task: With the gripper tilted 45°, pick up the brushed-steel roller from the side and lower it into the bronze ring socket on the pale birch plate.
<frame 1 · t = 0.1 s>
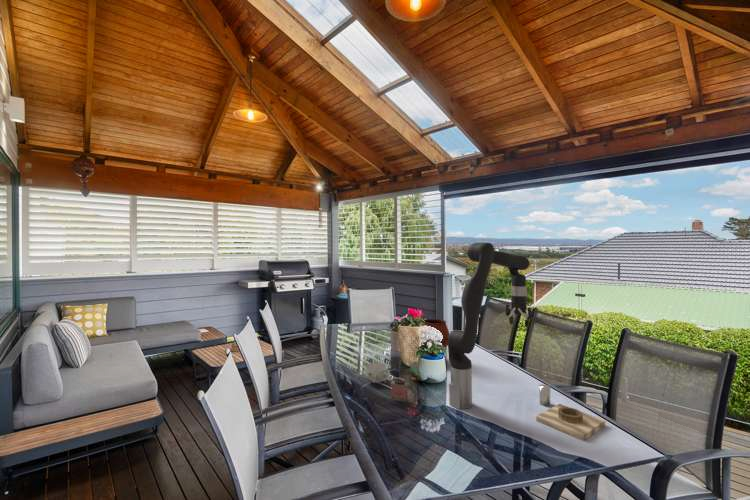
hand: (519, 325, 183), 29 cm above the table, tool pointing down, fingers open, 8 cm apart
roller: (544, 404, 157), on the table
lighter: (399, 399, 164), on the table
food container: (421, 380, 187), on the table
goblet: (434, 361, 217), on the table
housing: (570, 423, 140), on the table
teacup: (378, 382, 185), on the table
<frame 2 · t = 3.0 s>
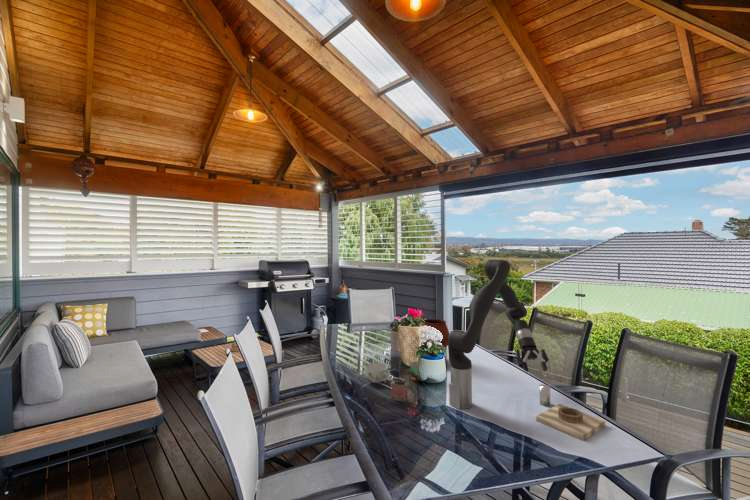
hand: (536, 370, 165), 12 cm above the table, tool tilted 45°, fingers open, 8 cm apart
nothing on the table moved.
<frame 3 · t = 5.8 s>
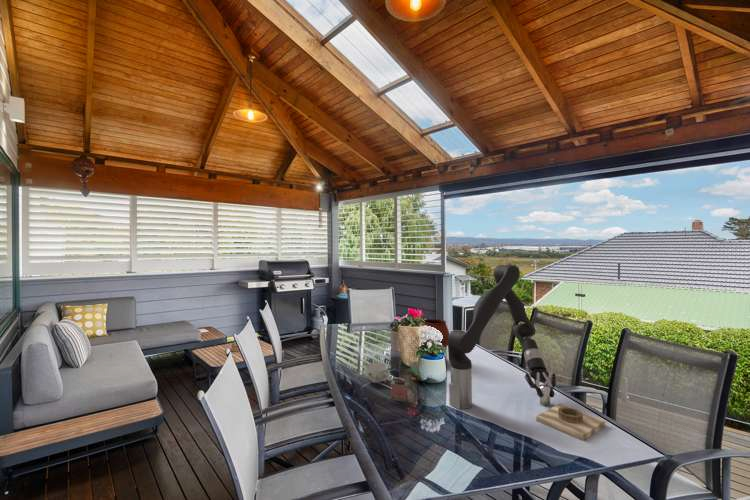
hand: (547, 396, 155), 4 cm above the table, tool tilted 45°, fingers closed on roller, 4 cm apart
roller: (545, 404, 157), on the table, touching gripper
everything else where it was.
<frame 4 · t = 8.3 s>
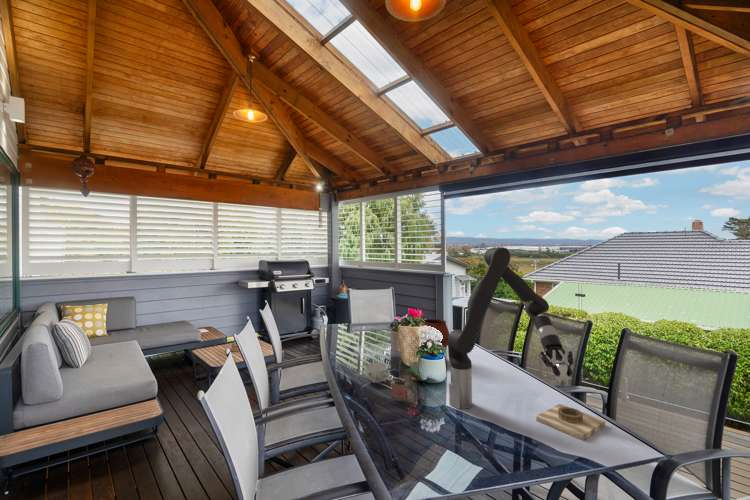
hand: (564, 375, 143), 18 cm above the table, tool tilted 45°, fingers closed on roller, 4 cm apart
roller: (561, 383, 145), point 14 cm above the table, touching gripper
everything else where it was.
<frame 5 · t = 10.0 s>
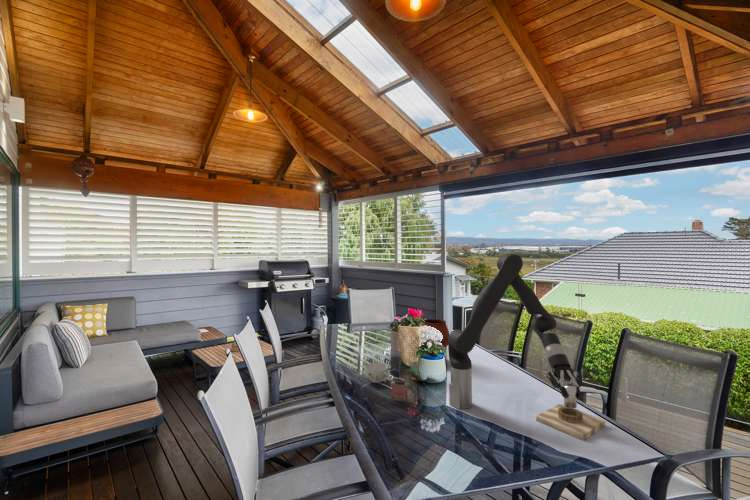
hand: (572, 397, 138), 11 cm above the table, tool tilted 45°, fingers closed on roller, 4 cm apart
roller: (570, 405, 140), point 7 cm above the table, touching gripper
everything else where it was.
when the fingers open (7 cm above the table, at t = 11.1 s): roller drops 1 cm, resting on housing.
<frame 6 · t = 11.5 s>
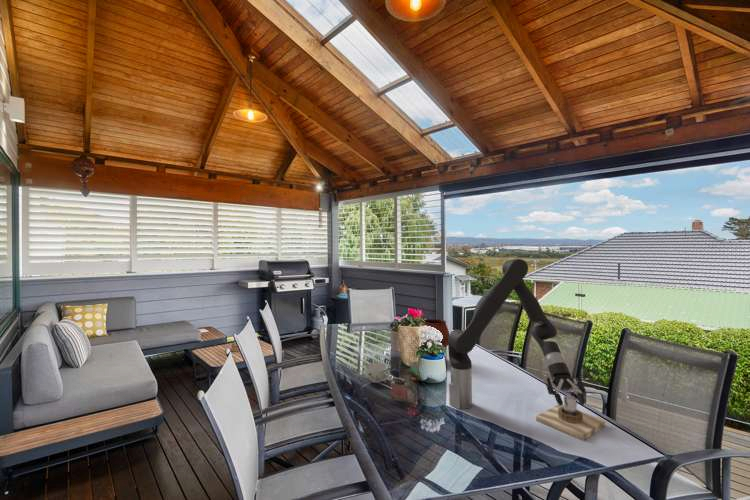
hand: (572, 404, 138), 8 cm above the table, tool tilted 45°, fingers open, 8 cm apart
roller: (570, 418, 140), point 2 cm above the table, touching housing
everything else where it was.
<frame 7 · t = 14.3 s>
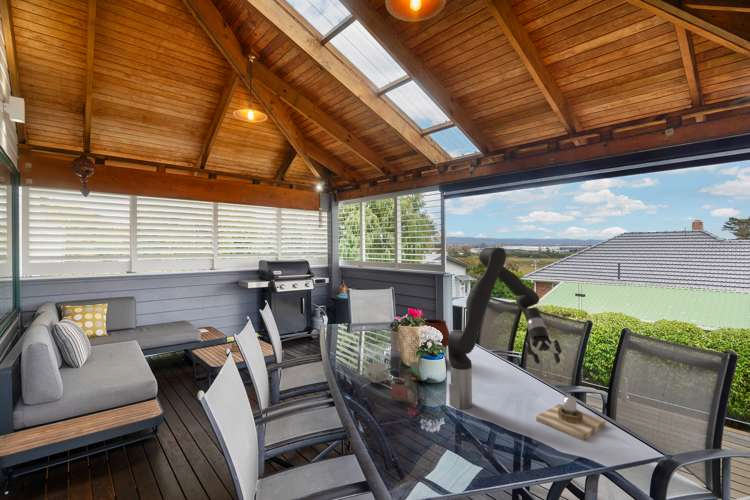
hand: (548, 363, 154), 19 cm above the table, tool tilted 40°, fingers open, 8 cm apart
nothing on the table moved.
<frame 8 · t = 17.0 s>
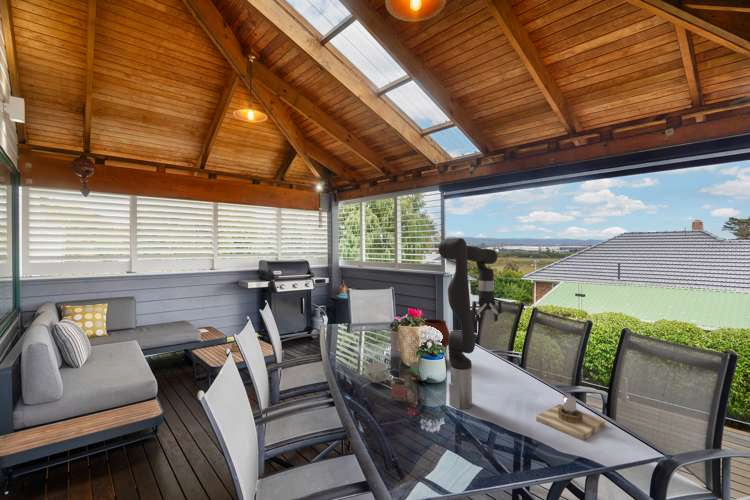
hand: (486, 321, 176), 33 cm above the table, tool pointing down, fingers open, 8 cm apart
nothing on the table moved.
at the end: roller 0.1 cm off-centre on the housing, point 2.1 cm above the housing's base; roller tilted 2°; the gripper is holding nothing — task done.
